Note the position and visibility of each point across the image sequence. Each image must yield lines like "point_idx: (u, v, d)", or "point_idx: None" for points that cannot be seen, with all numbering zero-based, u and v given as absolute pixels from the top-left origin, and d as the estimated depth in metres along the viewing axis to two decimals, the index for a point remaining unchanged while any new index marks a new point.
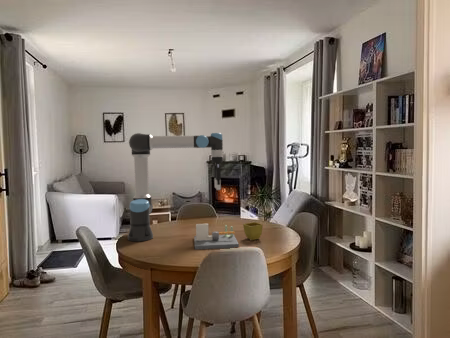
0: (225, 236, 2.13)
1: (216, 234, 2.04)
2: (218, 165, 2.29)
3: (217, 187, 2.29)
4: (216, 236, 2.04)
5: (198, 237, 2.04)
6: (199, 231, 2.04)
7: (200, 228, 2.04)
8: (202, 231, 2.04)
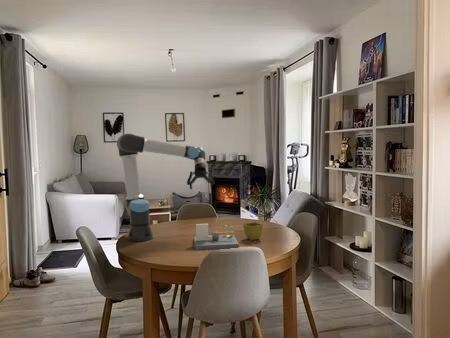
0: (225, 236, 2.13)
1: (216, 234, 2.04)
2: (210, 173, 2.37)
3: (210, 189, 2.26)
4: (216, 236, 2.04)
5: (198, 237, 2.04)
6: (199, 231, 2.04)
7: (200, 228, 2.04)
8: (202, 231, 2.04)
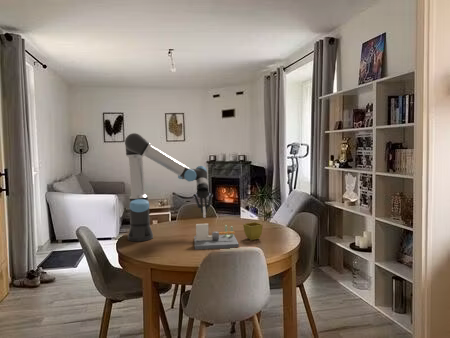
0: (225, 236, 2.13)
1: (216, 234, 2.04)
2: (212, 195, 2.30)
3: (205, 213, 2.20)
4: (216, 236, 2.04)
5: (198, 237, 2.04)
6: (199, 231, 2.04)
7: (200, 228, 2.04)
8: (202, 231, 2.04)
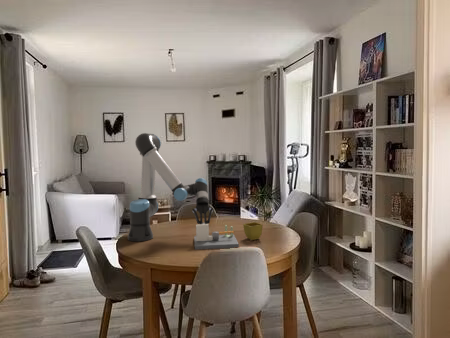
0: (225, 236, 2.13)
1: (217, 234, 2.04)
2: (212, 210, 2.17)
3: None
4: (217, 236, 2.04)
5: (198, 238, 2.02)
6: (200, 232, 2.02)
7: (201, 229, 2.02)
8: (202, 231, 2.03)
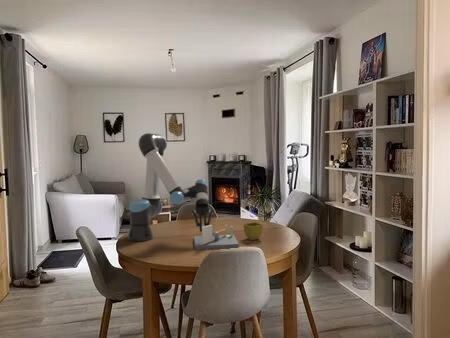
0: (225, 236, 2.13)
1: (218, 233, 2.05)
2: (212, 212, 2.10)
3: None
4: (218, 235, 2.05)
5: (206, 240, 1.97)
6: (207, 234, 1.98)
7: (207, 231, 1.98)
8: (208, 233, 1.99)
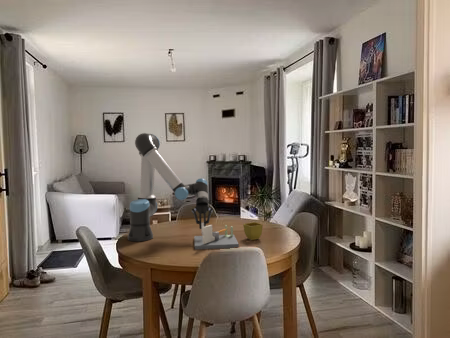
0: (225, 236, 2.13)
1: (218, 233, 2.05)
2: (212, 210, 2.17)
3: None
4: (218, 235, 2.05)
5: (206, 240, 1.97)
6: (207, 234, 1.98)
7: (207, 231, 1.98)
8: (208, 233, 1.99)
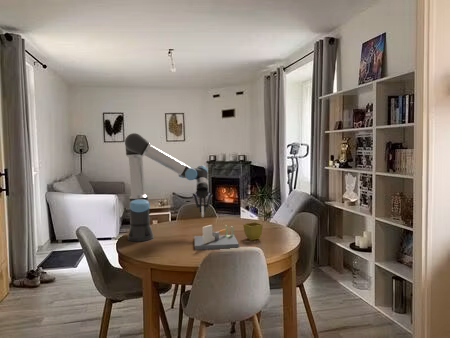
0: (225, 236, 2.13)
1: (218, 233, 2.05)
2: (211, 195, 2.30)
3: (203, 213, 2.20)
4: (218, 235, 2.05)
5: (206, 240, 1.97)
6: (207, 234, 1.98)
7: (207, 231, 1.98)
8: (208, 233, 1.99)
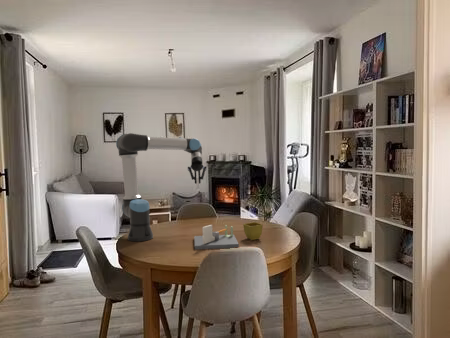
0: (225, 236, 2.13)
1: (218, 233, 2.05)
2: (206, 168, 2.41)
3: (198, 184, 2.31)
4: (218, 235, 2.05)
5: (206, 240, 1.97)
6: (207, 234, 1.98)
7: (207, 231, 1.98)
8: (208, 233, 1.99)
